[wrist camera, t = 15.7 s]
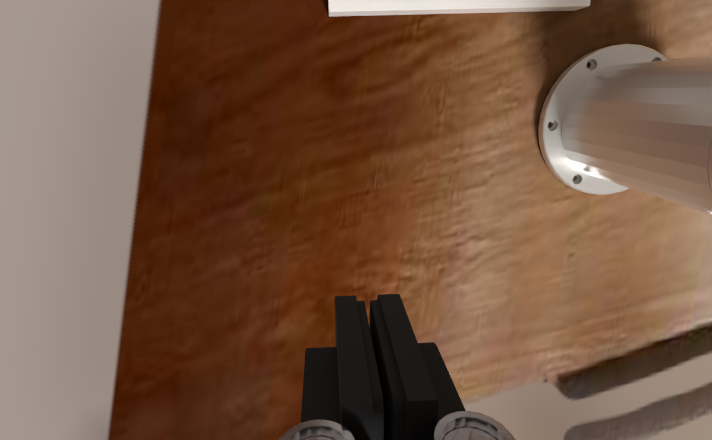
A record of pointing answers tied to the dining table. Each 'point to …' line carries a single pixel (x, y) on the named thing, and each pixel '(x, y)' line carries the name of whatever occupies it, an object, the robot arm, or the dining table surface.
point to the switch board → (448, 6)
